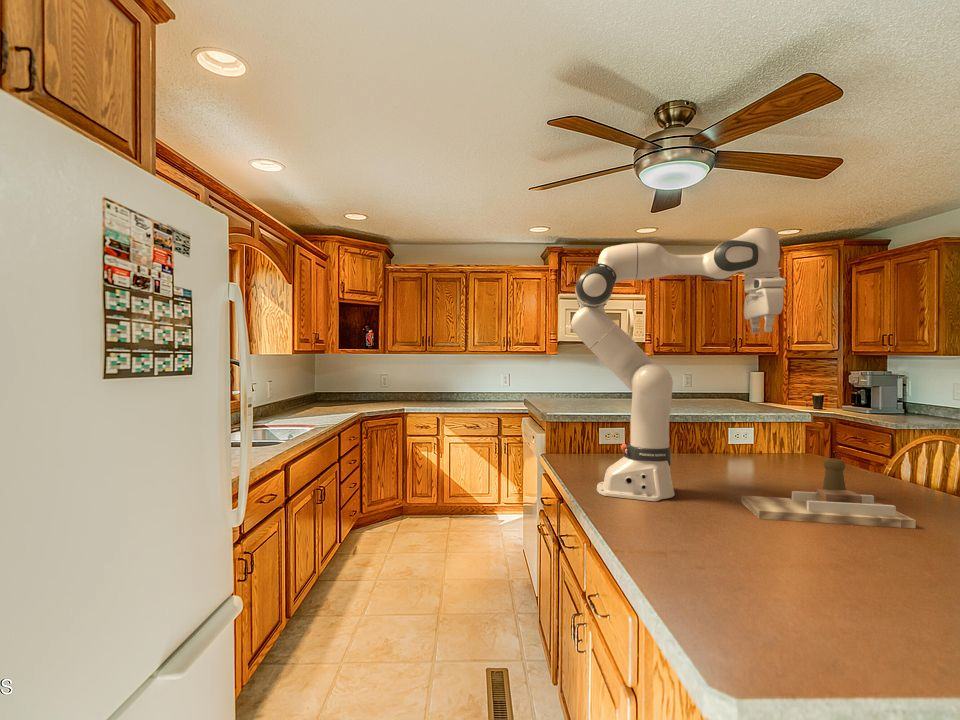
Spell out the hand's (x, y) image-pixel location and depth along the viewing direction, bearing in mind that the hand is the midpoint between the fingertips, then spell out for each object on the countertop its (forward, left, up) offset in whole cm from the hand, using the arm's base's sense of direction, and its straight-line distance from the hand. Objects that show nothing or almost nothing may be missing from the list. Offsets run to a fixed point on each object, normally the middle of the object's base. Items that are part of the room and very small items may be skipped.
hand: (761, 333), depth 140 cm
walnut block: (+14, -12, -46) cm, 50 cm away
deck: (+10, -12, -48) cm, 50 cm away
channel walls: (+15, -12, -46) cm, 50 cm away
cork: (+22, +8, -48) cm, 54 cm away
